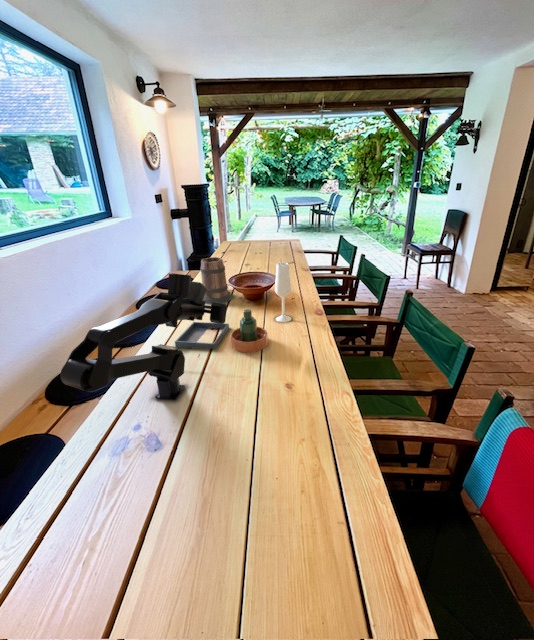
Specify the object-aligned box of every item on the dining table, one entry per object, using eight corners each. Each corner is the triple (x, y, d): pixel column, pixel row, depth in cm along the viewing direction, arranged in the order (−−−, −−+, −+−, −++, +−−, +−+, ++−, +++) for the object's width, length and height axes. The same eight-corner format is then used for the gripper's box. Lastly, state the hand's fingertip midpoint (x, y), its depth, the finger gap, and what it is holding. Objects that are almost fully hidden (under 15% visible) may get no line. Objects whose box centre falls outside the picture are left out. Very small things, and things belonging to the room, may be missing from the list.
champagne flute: (293, 317, 139) (293, 262, 129) (288, 323, 134) (287, 266, 124) (279, 314, 142) (278, 261, 132) (273, 320, 136) (271, 265, 126)
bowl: (263, 355, 111) (262, 343, 109) (226, 352, 113) (225, 341, 112) (270, 337, 123) (270, 326, 121) (237, 335, 125) (236, 325, 123)
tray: (215, 350, 115) (214, 344, 114) (175, 347, 118) (174, 341, 117) (229, 329, 131) (228, 323, 129) (194, 327, 133) (193, 321, 132)
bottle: (255, 347, 115) (253, 314, 109) (239, 346, 116) (236, 313, 110) (259, 339, 120) (257, 307, 114) (243, 339, 121) (241, 307, 116)
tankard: (231, 302, 157) (228, 262, 149) (197, 304, 156) (191, 264, 148) (233, 287, 178) (230, 251, 170) (203, 289, 178) (198, 253, 169)
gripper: (213, 285, 90) (240, 288, 104) (161, 279, 97) (192, 283, 111) (210, 325, 91) (236, 322, 105) (158, 316, 98) (190, 314, 112)
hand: (213, 309), depth 108 cm, fingers open, 9 cm apart
